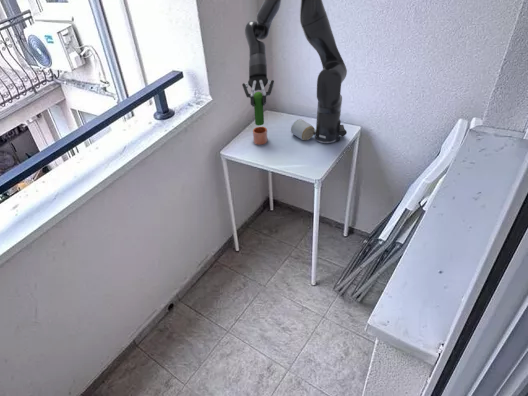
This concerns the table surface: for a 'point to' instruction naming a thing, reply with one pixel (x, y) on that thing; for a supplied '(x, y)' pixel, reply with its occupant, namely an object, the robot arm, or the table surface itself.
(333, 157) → the table surface
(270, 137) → the table surface
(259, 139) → the cup
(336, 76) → the robot arm
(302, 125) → the ceramic mug
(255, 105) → the cucumber
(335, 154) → the table surface
